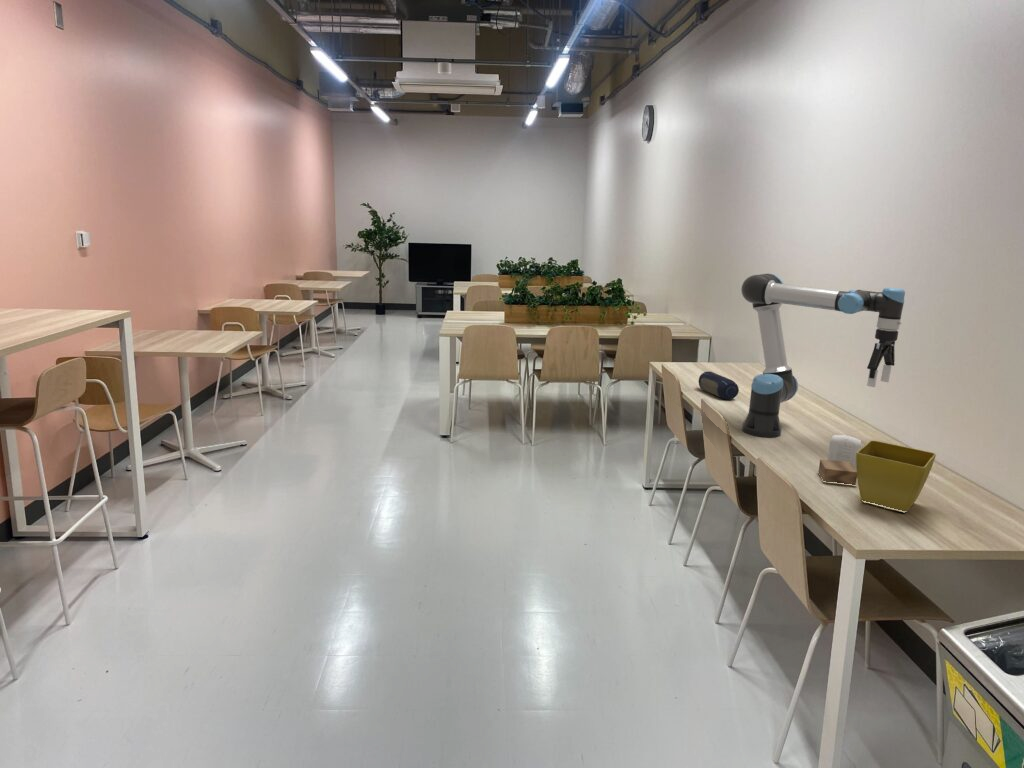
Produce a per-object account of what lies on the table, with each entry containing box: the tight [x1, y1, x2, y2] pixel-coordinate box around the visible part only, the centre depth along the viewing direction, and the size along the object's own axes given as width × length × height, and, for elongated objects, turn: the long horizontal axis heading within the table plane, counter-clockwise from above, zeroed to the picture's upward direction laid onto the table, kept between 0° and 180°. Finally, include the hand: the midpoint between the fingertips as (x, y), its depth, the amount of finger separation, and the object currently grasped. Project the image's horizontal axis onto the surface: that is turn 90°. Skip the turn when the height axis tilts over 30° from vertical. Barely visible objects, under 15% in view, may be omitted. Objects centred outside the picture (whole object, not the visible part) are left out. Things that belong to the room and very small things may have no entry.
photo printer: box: [826, 434, 863, 471], centre depth 253 cm, size 10×4×12 cm, turn 60°
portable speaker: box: [698, 371, 740, 401], centre depth 352 cm, size 25×10×10 cm, turn 17°
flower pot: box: [856, 439, 937, 512], centre depth 223 cm, size 19×19×17 cm
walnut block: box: [817, 458, 857, 485], centre depth 243 cm, size 10×10×5 cm
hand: (877, 384), depth 274 cm, fingers open, 13 cm apart
